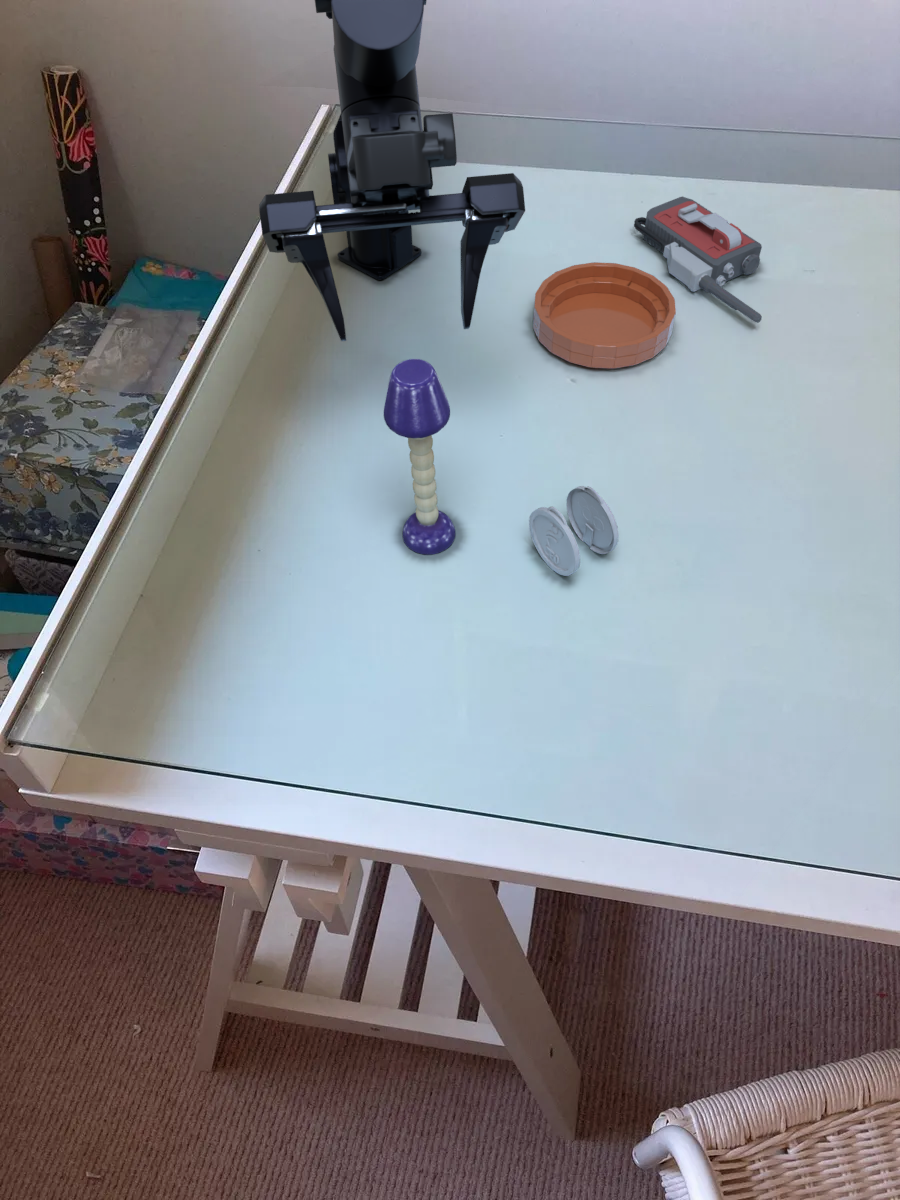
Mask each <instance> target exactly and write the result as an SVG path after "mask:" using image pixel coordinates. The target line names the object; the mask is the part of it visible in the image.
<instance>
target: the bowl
mask: <svg viewBox="0 0 900 1200" xmlns="http://www.w3.org/2000/svg"><path fill="white" fill-rule="evenodd" d="M676 313H677V309H676V300H675V297H674V295H673V294H672V292H671V290H670V289H669V288H668V286H667V285H666V284H665V283H663V282H662V281H661V280H659V279H658V278H657V277H656V276H655V275H653V274H651V273H648V272H646V271H644V270H642V269H640V268H637V267H634V266H630V265H626V264H621V263H616V262H596V261H595V262H587V263H586V262H585V263H579V264H573V265H571V266H568V267H565V268H563V269H559V270H557V271H555V272H554V273H552V274H551V275H550V276H548V277H547V278H545V279H544V280H543V281H542V282H541V284H540V285H539V287H538V289H537V290H536V291H535V293H534V306H533V323H532V328H533V330H534V333H535V335H536V337H537V340H538V341H539V342H540V344H542V346H543V347H545V348H546V349H547V350H548V351H549V352H550V353H551V354H553V355H555V356H557V357H559V358H561V359H563V360H565V361H567V362H568V363H570V364H575V365H579V366H583V367H586V368H592V369H619V368H620V369H621V368H626V367H632V366H636V365H638V364H642V363H643V362H646V361H649V360H650V359H653V358H654V357H655V356H657V355H658V354H659V353H660V352H661V351H663V350H664V349H665V348H666V347H667V345H668V342H669V341H670V338H671V337H672V334H673V329H674V323H675V318H676Z"/></svg>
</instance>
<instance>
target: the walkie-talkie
mask: <svg viewBox="0 0 900 1200" xmlns="http://www.w3.org/2000/svg"><path fill="white" fill-rule="evenodd" d="M633 227H634V228H635V230H636V231H637V232H639V233H641V234H642V235H643V237H642V240H644V241H645V242H646V243H648V244H649V245H651V246H652V247H654V248H655V249H656V250H658V251H659V252H660V253H662V256H663V257H664V258H665V259H666V262H667V270H668V273H669V274H670V275H671V276H673V277H675V279H677V280H678V281H680V282H681V283H683V284H684V285H685V286H686V287H687V288H688V289H689V290H690V291H692V293H695V292H697V291H700V290H701V289H702V290H703V291H704V292H706V293H710V294H711V295H713V296H714V297H716V298H717V299H719V301H721V302H722V303H724V304H725V305H727V306H728V307H729V308H731V309H733V310H734V311H738V312H739V313H741V314H742V315H744V316H745V317H746V318H748V319H749V320H751V321H752V322H755V323H757V324H759V323H760V322H761V321H762V318H763V317H762V314H761V313H760V312H758V311H756V309H754V308H753V307H751V306H750V305H748V304H746V302H743V301H742V300H741V299H739V298H738V297H737V296H735V295H734V294H732V293H731V292H729V291H728V290H727V289H725V288H724V287H723V286H724V285H725V284H726V282H728V281H730V280H732V279H734V278H737V277H739V276H742V275H746V276H750V275H751V274H753V273H754V272H756V270H757V269H758V268H759V265H760V263H761V258H760V255H761V252H762V247H763V246H762V244H761V243H760V242H758V241H757V240H756V239H754V238H753V237H751V236H749V235H748V234H746V233H745V232H744V231H742V229H740V227H738V226H736V225H735V224H733V223H732V222H729V221H728V219H726V218H724V217H723V216H721V215H720V214H718V213H717V212H712V211H711V210H709V209H708V208H706V207H705V206H704V205H701V204H700V203H698V202H697V201H696V200H694V199H691V198H689V197H685V196H683V195H682V196H679V197H677V198H674V199H671V200H669V201H667V202H664V203H662V204H659V205H656V206H654V207H652V208H650V209H649V210H648V211H646V216H645V217H643V216H641V217H636V218H635V219H634V224H633Z"/></svg>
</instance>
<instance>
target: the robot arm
mask: <svg viewBox="0 0 900 1200" xmlns="http://www.w3.org/2000/svg"><path fill="white" fill-rule="evenodd" d="M426 5H427V0H314V7H315V12H316V14H323V13H324V14H325V16H326V18H328V20H331V21H332V31H333V43H334V44H333V57H334V64H335V73H336V74H335V75H336V81H337V90H338V99H339V107H340V113H339V117H338V119H337V122H336V124H335V127H334V129H333V133H332V134H333V147H334V152H332V153H327V158H328V167H329V176H330V182H331V192H332V201H333V204H321V205H317V204H316V199H315V191H314V190H304V191H303V190H301V191H293V192H281V193H279V192H278V193H268V194H265V195H264V196H263V198H262V199H261V201H260V202H259V204H258V208H259V209H258V212H259V219H260V226H261V227H260V228H261V234H262V238H263V239H264V242H265V245H266V247H267V248H268V252H270V253H277V254H279V253H285V257H286V259H287V262H288V263H291V264H298V263H301V264H302V265H303V267H304V269H305V271H306V272H307V273H308V275H309V277H310V278H311V280H312V282H313V283H314V285H315V287H316V289H317V291H318V292H319V294H320V296H321V299H322V300H323V303H324V305H325V308H326V310H327V312H328V314H329V317H330V319H331V321H332V324H333V326H334V328H335V331H336V333H337V335H338V337H339V340H340V341H341V342H346V341H347V333H346V326H345V325H346V324H345V317H344V314H343V310H342V306H341V302H340V298H339V294H338V290H337V285H336V283H335V278H334V275H333V271H332V267H331V263H330V257H329V254H328V250H327V245H326V241H325V238H324V234H331V233H332V234H333V233H344V232H346V241H347V246H346V247H345V248H343V249H342V250H340V251H338V253H337V260H339V261H341V262H343V263H344V264H346V265H349V266H351V267H352V268H354V269H356V270H358V271H361V272H362V273H364V274H366V275H368V276H370V277H372V278H374V279H375V280H379V281H382V280H384V279H386V278H387V277H389V276H391V275H392V274H394V273H395V272H397V271H399V270H400V269H401V268H403V267H405V266H406V265H408V264H410V263H411V262H413V261H414V260H415V259H417V258H419V257H420V256H421V255H422V249H421V248H420V247H418V246H416V245H414V244H413V229H412V226H420V225H430V224H431V225H433V224H444V223H453V222H454V223H455V222H461V224H462V225H461V226H463V227H464V231H463V233H462V236H461V238H460V241H459V242H460V243H459V244H460V314H461V318H462V319H461V321H462V327H463V330H469V329H470V327H471V323H472V318H473V313H474V309H475V303H476V297H477V292H478V287H479V284H480V283H479V282H480V277H481V272H482V268H483V265H484V261H485V258H486V256H487V253H488V250H489V247H490V246H492V245H497V244H499V243H500V242H501V240H502V238H503V236H504V235H505V233H507V232H511V231H515V230H516V228H517V226H518V224H519V222H520V221H521V219H522V218H523V216H524V215H525V213H526V204H525V203H526V202H525V193H524V185H523V183H522V181H521V179H520V178H518V177H517V176H516V174H515V173H514V172H510V173H497V174H486V175H475V176H466V179H465V182H464V185H463V188H462V191H461V192H456V193H445V194H437V195H436V194H435V195H434V194H433V195H430V190H433V185H434V180H433V170H432V169H433V168H443V167H445V168H446V167H454V166H456V165H457V163H458V162H457V161H458V160H457V159H458V157H457V156H458V155H457V142H456V141H457V140H456V130H455V124H454V115H453V113H452V112H451V113H450V112H448V113H437V114H426V115H424V116H423V118H422V113H421V106H420V105H421V103H420V95H419V84H418V76H417V68H416V64H417V61H418V57H419V53H420V43H421V35H422V29H423V20H424V12H425V11H424V10H425V6H426ZM422 119H423V121H422ZM418 210H419V211H418ZM409 211H410V212H409ZM413 211H415V212H413Z"/></svg>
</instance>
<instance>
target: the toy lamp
mask: <svg viewBox="0 0 900 1200" xmlns="http://www.w3.org/2000/svg"><path fill="white" fill-rule="evenodd" d="M450 417H451V405H450V403H449V400H448V397H447V395H446V392H445V390H444V387H443V386H442V383H441V381H440V378H439V375H438V373H437V371H436V369H435V367H434V366H433V365H432V364H431V363H430V362H428V361H427V360H424V359H420V358H409V359H405V360H402V361H400V362H399V363H398V364H396V365H395V366H394V367H393V368H392V370H391V373H390V376H389V380H388V384H387V390H386V395H385V401H384V406H383V420H384V422H385V425H386V427H388V429H389V430H390V431H391V432H393V433H394V434H396V435H398V436H399V437H403V438H406V439H407V445H408V448H409V462H410V464H411V467H410V474H411V477H412V479H413V480H412V490H413V493H414V497H413V498H414V499H413V500H414V505H415V507H416V508H415V511H414V512H413V513H412V514H411V515H410V516H408V518H407V519H406V521H405V523H404V524H403V528H402V540H403V543H404V544H405V546H406V547H407V548H408V549H409V550H411V551H413V552H414V553H417V554H420V555H435V554H439V553H443V552H445V551H446V550H447V549H448V548H450V547H451V545H453V543H454V541H455V539H456V529H455V528H456V527H455V525H454V523H453V522H454V521H452V519H451V518H450V517H449V515H447V514H446V513H444V512H443V511H441V510H439V507H438V506H437V505H438V494H437V493H436V491H437V481H436V478H435V477H436V467H435V465H434V462H435V454H434V450H433V446H434V439H433V435H435V434H437V433H438V432H440V431H442V429H444V428H445V427H446V426H447V425H448V423H449V420H450Z"/></svg>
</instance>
